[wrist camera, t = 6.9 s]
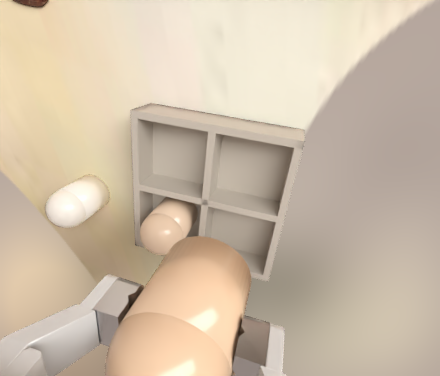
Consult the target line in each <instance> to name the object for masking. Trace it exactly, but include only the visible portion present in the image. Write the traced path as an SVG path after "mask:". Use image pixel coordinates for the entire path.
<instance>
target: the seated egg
mask: <svg viewBox="0 0 440 376" xmlns="http://www.w3.org/2000/svg"><path fill="white" fill-rule="evenodd" d="M197 217H198V210H197V207H196V205H195V204H194V203H191V202H187V201H183V200H178V199H174V198H170V197H165V198H164V199H163V200H162V202H161V203H160V204H159V205H158V206H157V207H156V208H155V209H154V210H153V211H152V212H151V213H150V214H149V215H148V216H147V218H146V219H145V220H144V221H143V223H142V225H141V229H140V238H141V242H142V244H143V245H144V247H145V248H146V249H147V250H148V251H150V252H151V253H153V254H157V255H167V253H168V252H169V250H170V249H171V247H172V246H173V245H174V244H175V243H177V242H178V241H180V240H182V239H184V238H186V236H187V235H188V233H189V231H190V230H191V228H192V227H193V225H194V223H195V222H196V220H197Z"/></svg>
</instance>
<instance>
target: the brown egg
mask: <svg viewBox="0 0 440 376" xmlns="http://www.w3.org/2000/svg"><path fill="white" fill-rule="evenodd" d="M250 287H251V273H250V270H249V267H248V265H247V263H246V262H245V260H244V259H243V257H242V256H241V255H240V254H239V253H238V252H237V251H236V250H234V249H233V248H232V247H230V246H229V245H227V244H225V243H224V242H221V241H219V240H217V239H213V238H209V237H203V236H193V237H188V238H184V239H182V240H180V241H178V242H177V243H175V244H174V245H173V246H172V247H171V249H170V250H169V252H168V253H167V255H166V256H165V258H164V259H163V261H162V262H161V264H160V265H159V267H158V268H157V269H156V271H155V272H154V274H153V275H152V277H151V278H150V280H149V281H148V283H147V284H146V286H145V287H144V289H143V290H142V292H141V293H140V295H139V296H138V298H137V299H136V301H135V302H134V304H133V305H132V307H131V308H130V310H129V311H128V313H127V314H126V316H125V317H124V319H123V320H122V322H121V323H120V325H119V326H118V328H117V330H116V331H115V333H114V335H113V338H112V340H111V342H110V345H109V349H108V352H107V357H106V363H105V376H231V373H232V365H233V360H234V356H235V351H236V347H237V342H238V338H239V333H240V329H241V324H242V320H243V316H244V314H245V309H246V305H247V300H248V296H249V291H250Z"/></svg>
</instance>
